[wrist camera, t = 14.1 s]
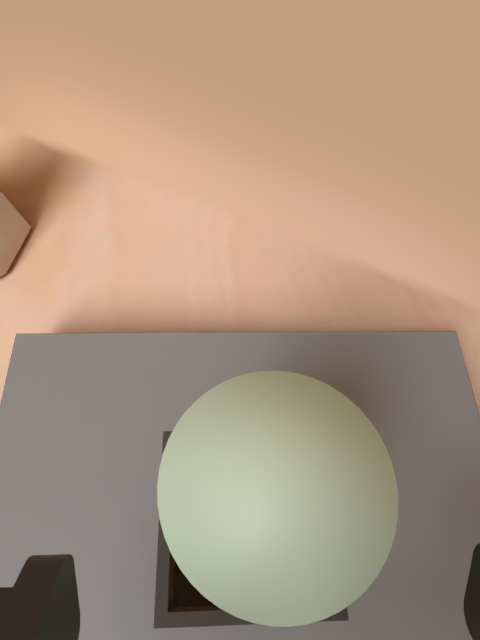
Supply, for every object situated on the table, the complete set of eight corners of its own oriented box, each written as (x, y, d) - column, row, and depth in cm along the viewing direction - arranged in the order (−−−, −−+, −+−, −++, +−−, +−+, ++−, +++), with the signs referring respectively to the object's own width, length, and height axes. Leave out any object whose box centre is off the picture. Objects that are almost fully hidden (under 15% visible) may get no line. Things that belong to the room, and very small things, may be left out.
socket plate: (435, 350, 21) (455, 331, 19) (538, 757, 14) (583, 783, 13) (33, 353, 20) (16, 333, 18) (-54, 792, 13) (-94, 827, 12)
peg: (298, 462, 18) (375, 369, 10) (310, 590, 16) (422, 621, 7) (188, 465, 18) (163, 371, 9) (185, 595, 16) (149, 633, 7)
